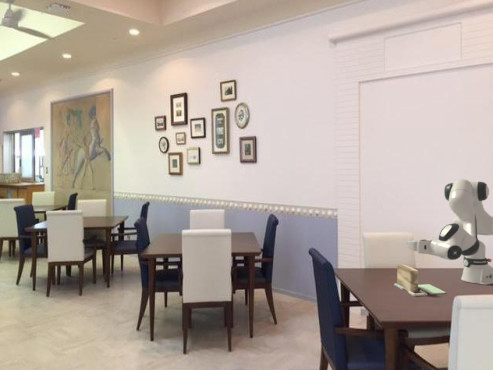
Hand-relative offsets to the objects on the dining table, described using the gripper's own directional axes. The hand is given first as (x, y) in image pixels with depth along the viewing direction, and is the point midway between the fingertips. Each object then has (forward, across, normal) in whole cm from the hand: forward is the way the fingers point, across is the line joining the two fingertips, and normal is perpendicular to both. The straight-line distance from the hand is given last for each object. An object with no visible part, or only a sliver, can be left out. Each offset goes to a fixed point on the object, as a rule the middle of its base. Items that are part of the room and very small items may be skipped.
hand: (419, 241), depth 222 cm
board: (+12, 0, +29) cm, 31 cm away
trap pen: (+2, 0, +29) cm, 29 cm away
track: (+15, 0, +29) cm, 32 cm away
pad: (+7, -11, +29) cm, 32 cm away
